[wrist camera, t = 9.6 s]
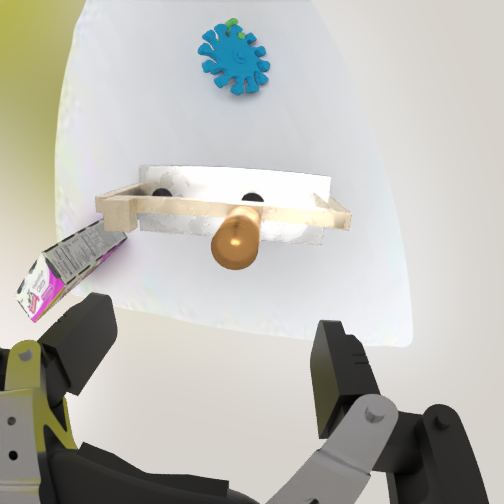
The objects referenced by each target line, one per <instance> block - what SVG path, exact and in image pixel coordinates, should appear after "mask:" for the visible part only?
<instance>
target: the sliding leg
mask: <svg viewBox="0 0 504 504" xmlns="http://www.w3.org/2000/svg"><path fill="white" fill-rule="evenodd" d="M262 211H263V204H260V203H247V202H234V201H228V202H227V203H226V218H225V220H224V221H223V223H222V224H221V226H220V227H219V229H218V230H217V232H216V234H215V235H214V237H213V239H212V242H211V251H212V254H213V257H214V258H215V260H216V261H217V262H218V263H219V264H220V265H221V266H223V267H225V268H227V269H231V270H240V269H244V268H246V267H248V266H249V265H251V264H252V263H253V262H254V260H255V259H256V256H257V253H258V246H259V243H260V236H261V223H262Z"/></svg>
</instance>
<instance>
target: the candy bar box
mask: <svg viewBox="0 0 504 504" xmlns="http://www.w3.org/2000/svg"><path fill="white" fill-rule="evenodd" d="M126 239H127V237H126V235H125V234H124V233H123V232H118V231H104V220H103V219H101V220H99V221H97V222H95V223H93V224H91V225H89V226H88V227H86V228H84V229H82V230H80V231H78V232H76V233H75V234H73V235H71V236H69V237H67V238H65V239H64V240H62V241H61V242H59V243H57V244H56V245H54V246H52V247H50V248H49V249H47V250H45V251H43V252H42V253H41V254H40V255H39V257H38V259H37V260H36V261H35V263H34V264H33V266H32V268H31V269H30V270H29V272H28V274H27V275H26V277H25V279H24V280H23V282H22V283H21V285H20V287H19V289H18V290H17V292H16V294H15V298H16V299H17V301H18V302H19V304H20V305H21V306H22V308H23V309H24V311H25V312H26V313H27V314H28V316H29V318H30V319H31V320H32V321H33V322H34V323H36V322H37V321H38V320H39V319H40V318H41V317H42V316H43V315H44V314H45V313H46V312H47V311H48V310H49V309H51V308H52V307H53V306H54V305H55V304H56V303H57V302H58V301H59V300H61V299H62V298H63V297H64V296H65V295H66V294H67V293H68V292H70V291H71V290H72V289H73V288H74V287H75V286H76V285H78V284H79V283H80V282H81V281H82V280H83V279H84V278H86V277H87V276H88V275H89V274H90V273H92V272H93V271H94V270H95V269H96V268H97V267H98V266H99V265H100V264H101V263H102V262H103V261H104V260H105V259H106V258H107V257H108V256H109V255H110V254H111V253H112V252H113V251H114V250H115V249H116V248H117V247H118V246H120V245H121V244H122V243H123V242H124V241H125V240H126Z"/></svg>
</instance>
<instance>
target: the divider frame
mask: <svg viewBox="0 0 504 504" xmlns="http://www.w3.org/2000/svg"><path fill="white" fill-rule="evenodd" d="M330 179H331V177H329V176H322V175H314V174H305V173H296V172H286V171H275V170H263V169H249V168H233V167H212V166H139V183H136V184H133V185H129V186H126V187H123V188H120V189H117V190H114V191H111V192H108V193H105V194H102V195H99V196H96V197H95V202H96V212H103V220H104V231H118V232H132V231H133V230H135V229H136V228H137V220H138V219H140V231H154V232H168V233H181V234H194V235H207V236H214V235H215V234H216V232H217V230H218V229H219V227H220V226H221V224H222V223H223V221H224V220H225V218H226V203H227V202H228V201H234V202H247V203H260V204H263V211H262V223H261V236H260V240H268V241H279V242H291V243H302V244H313V245H322V240H323V233H324V227H332V229H341V230H349V228H350V222H351V216H352V213H351V212H350V211H348V210H347V209H346V208H345V207H343V206H342V205H341V204H340V203H339V202H337V201H336V200H335V199H334V198H332V197H331V196H330V195H329V188H330Z"/></svg>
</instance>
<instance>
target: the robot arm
mask: <svg viewBox="0 0 504 504" xmlns="http://www.w3.org/2000/svg"><path fill="white" fill-rule="evenodd" d="M116 338H117V324H116V319H115V314H114V310H113V305H112V300H111V298H110V296H109V295H104V294H99V293H94V292H92V293H90V294H89V295H88V296H87V297H86V298H85V299H84V300H83V301H82V302H80V303H78V304H76V305H74V306H72V307H71V308H70V309H69V310H68V311H66V312H65V313H64V314H63V316H62V317H60V318H59V319H58V321H57V322H55V323H54V324H53V325H52V326H51V327H50V328H49V329H48V330H47V331H46V332H45V333H44V334H43V335H42V336H41V338H39V340H37V342H36V341H34V340H24V341H21V342H19V343H17V344H16V345H14V346H13V347H12V349H11V350H10V349H2V348H0V504H260V503H258V502H257V501H255V500H254V499H252V498H250V497H248V496H246V495H244V494H242V493H240V492H237V491H234V490H231V489H229V481H227V480H219V479H212V478H205V477H200V476H194V475H188V474H185V475H183V474H182V475H181V474H150V473H146V472H143V471H141V470H140V469H138V468H136V467H134V466H133V465H131V464H129V463H128V462H126V461H124V460H123V459H121V458H119V457H118V456H116V455H115V454H113V453H110V452H107V451H105V450H102V449H100V448H97V447H94V446H92V445H90V444H88V443H85V442H83V443H82V445H81V447H80V449H78V448H77V446H76V444H75V442H74V439H73V436H72V430H71V425H70V420H69V414H68V407H67V401H66V398H65V397H64V395H65V394H66V392H69V393H72V394H74V395H77V396H78V395H79V394H80V392H81V391H82V389H83V387H84V386H85V385H86V383H87V381H88V380H89V379H90V377H91V376H92V374H93V373H94V371H95V370H96V368H97V367H98V365H99V364H100V362H101V361H102V359H103V358H104V356H105V355H106V354H107V352H108V351H109V349H110V348H111V346H112V345H113V344H114V342H115V340H116ZM310 370H311V377H312V385H313V392H314V400H315V408H316V416H317V425H318V434H319V439H328V440H327V441H326V442H325V443H324V445H323V446H322V447H321V448H320V449H318V450H316V451H315V452H314V453H313V455H312V456H311V457H310V458H309V459H308V460H307V461H306V462H305V464H304V465H303V466H302V467H301V468H300V469H299V470H298V471H297V473H296V474H295V475H294V476H293V477H292V478H291V479H290V480H289V481H288V482H287V483H286V484H285V485H284V486H283V487H282V488H281V489H280V490H279V491H278V492H277V493H276V494H275V495H274V496H273V497H272V498H271V499H270V500H269V501H268V502H267V503H266V504H354V503H355V501H356V500H357V498H358V497H359V495H360V494H361V492H362V491H363V489H364V488H365V486H366V484H367V483H368V481H369V479H370V477H371V475H370V472H371V470H372V471H380V472H386V477H387V483H388V490H389V498H390V504H489V501H488V498H487V494H486V490H485V487H484V483H483V480H482V477H481V473H480V471H479V467H478V465H477V461H476V458H475V456H474V453H473V450H472V447H471V445H470V442H469V440H468V437H467V434H466V432H465V429H464V427H463V424H462V422H461V420H460V417H459V416H458V414H457V412H456V411H455V410H453V409H452V408H450V407H449V406H446V405H443V404H435V405H432V406H430V407H429V408H428V409H427V410H426V411H425V412H424V414H423V415H421V414H413V413H406V412H401V411H398V410H397V408H396V406H395V404H394V403H393V402H392V401H391V400H389V399H388V398H386V397H384V396H382V395H381V394H380V391H379V389H378V385H377V383H376V380H375V377H374V374H373V372H372V369H371V366H370V365H369V361H368V359H367V356H366V353H365V351H364V348H363V345H362V343H361V342H360V341H359V340H358V339H357V338H356V337H355V336H354V335H346V334H345V331H344V328H343V326H342V323H341V321H332V320H320V321H319V323H318V327H317V331H316V335H315V340H314V344H313V348H312V352H311V358H310Z"/></svg>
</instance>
